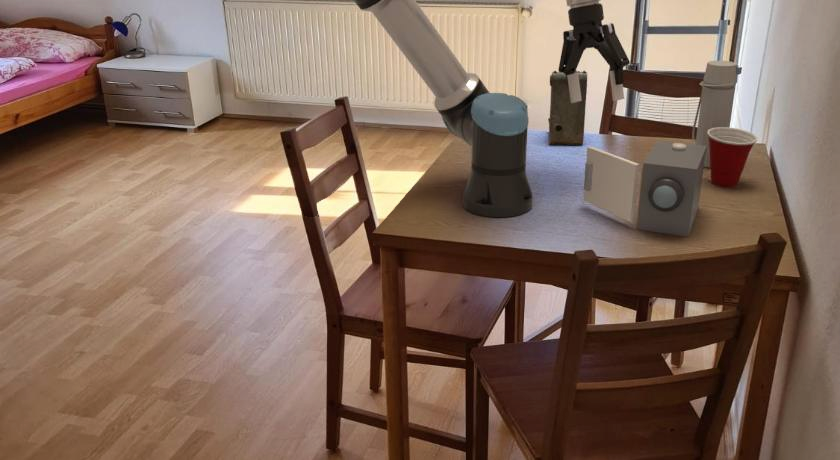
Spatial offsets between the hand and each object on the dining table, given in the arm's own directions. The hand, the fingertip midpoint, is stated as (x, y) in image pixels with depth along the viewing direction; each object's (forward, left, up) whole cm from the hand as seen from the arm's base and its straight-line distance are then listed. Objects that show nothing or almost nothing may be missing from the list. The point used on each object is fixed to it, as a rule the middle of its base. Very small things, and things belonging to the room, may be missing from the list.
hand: (596, 101), depth 177 cm
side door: (-8, -22, -17) cm, 29 cm away
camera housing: (+4, -27, -19) cm, 33 cm away
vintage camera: (+8, +34, -19) cm, 40 cm away
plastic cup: (+28, -11, -19) cm, 36 cm away
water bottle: (+32, +3, -19) cm, 38 cm away
